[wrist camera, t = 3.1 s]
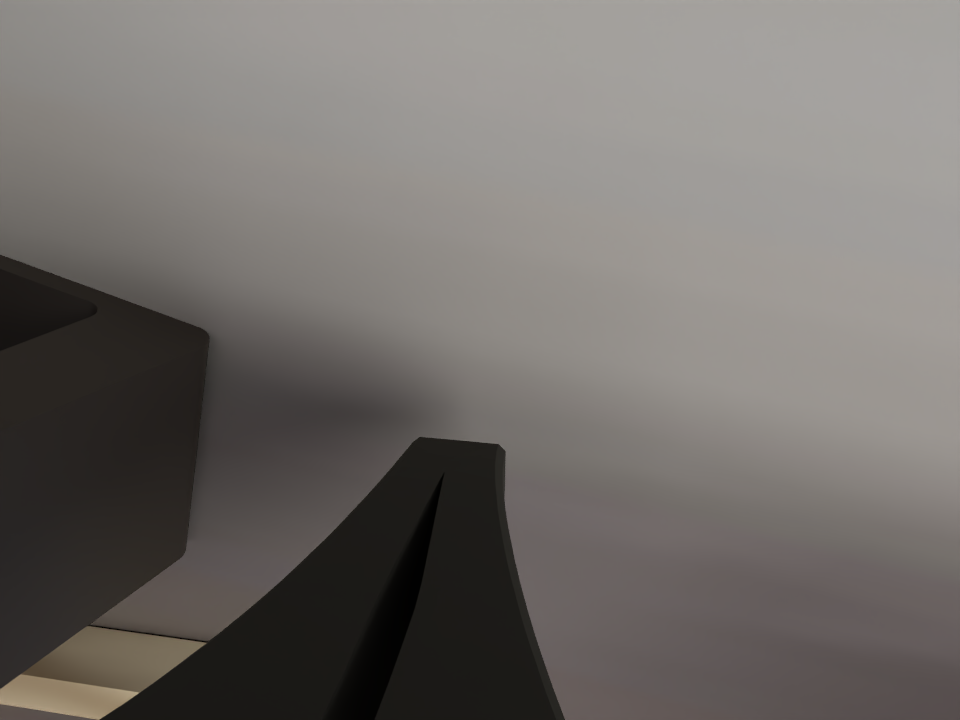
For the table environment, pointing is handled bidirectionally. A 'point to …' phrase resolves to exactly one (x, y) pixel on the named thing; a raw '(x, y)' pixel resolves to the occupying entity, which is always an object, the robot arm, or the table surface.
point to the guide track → (96, 672)
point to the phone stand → (88, 454)
